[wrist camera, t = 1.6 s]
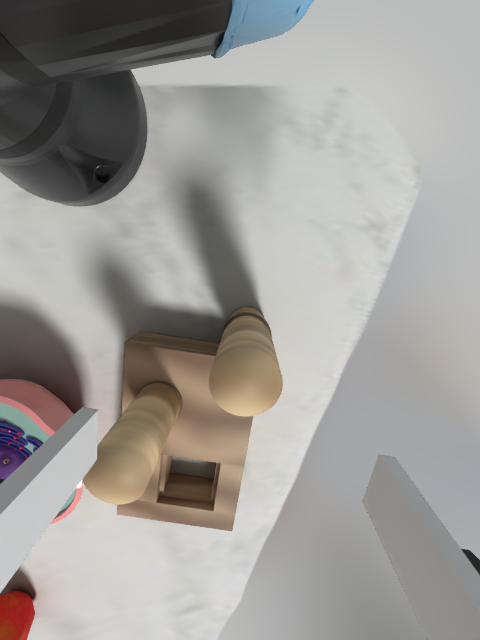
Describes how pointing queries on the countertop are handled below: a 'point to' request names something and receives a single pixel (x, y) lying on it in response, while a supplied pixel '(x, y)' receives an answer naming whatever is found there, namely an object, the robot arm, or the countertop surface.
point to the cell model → (30, 427)
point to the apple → (15, 615)
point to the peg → (246, 366)
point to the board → (171, 437)
